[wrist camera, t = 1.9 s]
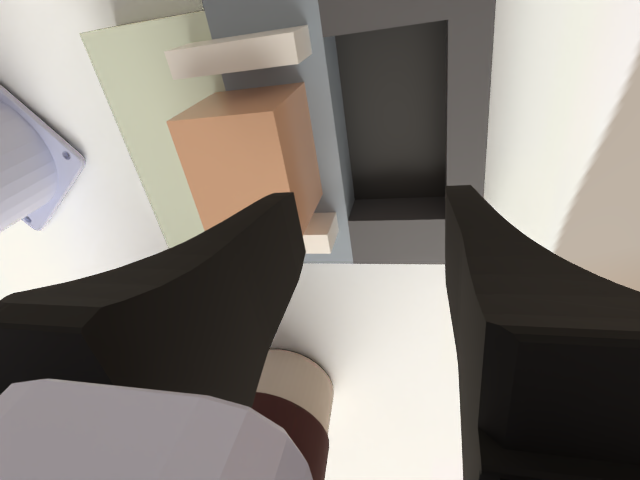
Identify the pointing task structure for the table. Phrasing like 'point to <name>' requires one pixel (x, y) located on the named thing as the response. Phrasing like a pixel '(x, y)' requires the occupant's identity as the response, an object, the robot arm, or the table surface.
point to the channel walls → (252, 55)
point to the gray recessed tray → (383, 111)
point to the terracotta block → (248, 150)
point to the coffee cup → (298, 404)
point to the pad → (153, 107)
